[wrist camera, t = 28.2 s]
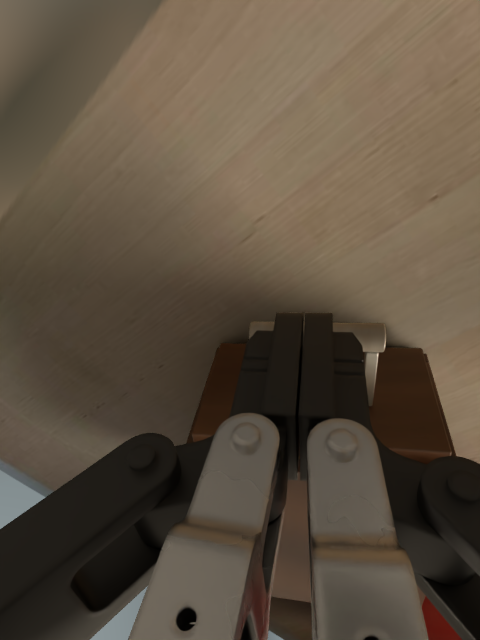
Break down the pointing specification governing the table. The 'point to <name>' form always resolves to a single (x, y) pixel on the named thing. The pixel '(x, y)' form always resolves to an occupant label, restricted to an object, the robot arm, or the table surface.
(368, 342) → the drawer
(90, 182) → the table surface
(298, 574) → the cabinet
